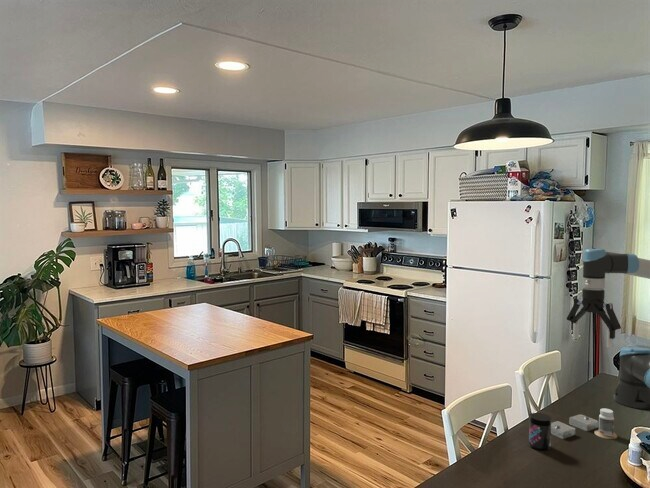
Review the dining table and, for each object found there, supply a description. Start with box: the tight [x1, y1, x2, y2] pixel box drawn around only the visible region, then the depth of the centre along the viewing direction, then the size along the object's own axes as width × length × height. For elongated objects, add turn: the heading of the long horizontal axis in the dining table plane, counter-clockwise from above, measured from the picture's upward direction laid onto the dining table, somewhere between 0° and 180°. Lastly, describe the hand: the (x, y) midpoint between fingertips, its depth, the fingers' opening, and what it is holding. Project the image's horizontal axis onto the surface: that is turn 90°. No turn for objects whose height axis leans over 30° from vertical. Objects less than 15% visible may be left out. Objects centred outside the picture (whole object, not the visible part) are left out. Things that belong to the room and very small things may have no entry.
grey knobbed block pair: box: [551, 414, 599, 440], centre depth 180 cm, size 20×7×3 cm, turn 118°
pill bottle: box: [598, 407, 615, 436], centre depth 175 cm, size 5×5×8 cm
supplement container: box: [528, 412, 552, 452], centre depth 166 cm, size 7×7×10 cm
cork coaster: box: [594, 429, 618, 440], centre depth 175 cm, size 7×7×1 cm
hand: (592, 342), depth 192 cm, fingers open, 13 cm apart
